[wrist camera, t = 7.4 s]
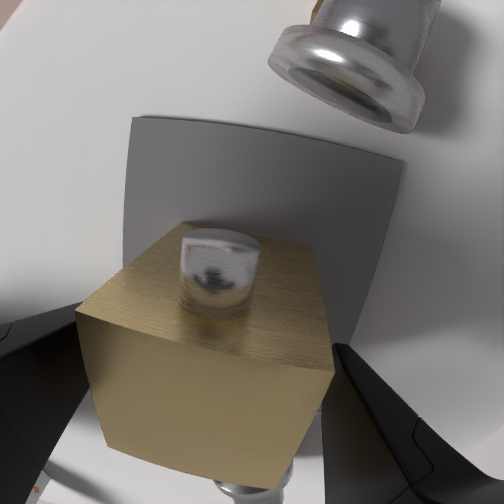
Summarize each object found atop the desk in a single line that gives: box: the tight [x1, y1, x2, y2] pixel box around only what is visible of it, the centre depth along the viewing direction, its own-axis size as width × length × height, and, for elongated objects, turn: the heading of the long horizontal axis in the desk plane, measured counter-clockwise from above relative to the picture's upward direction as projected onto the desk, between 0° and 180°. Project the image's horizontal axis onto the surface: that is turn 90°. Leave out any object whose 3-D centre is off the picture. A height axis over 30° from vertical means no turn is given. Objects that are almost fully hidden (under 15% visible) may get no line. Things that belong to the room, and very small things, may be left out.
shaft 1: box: [212, 459, 293, 504], centre depth 12 cm, size 4×4×5 cm
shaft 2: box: [268, 0, 441, 134], centre depth 6 cm, size 4×4×5 cm
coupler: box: [74, 222, 335, 490], centre depth 8 cm, size 4×7×6 cm, turn 171°
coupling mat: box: [123, 117, 403, 412], centre depth 11 cm, size 9×11×1 cm
